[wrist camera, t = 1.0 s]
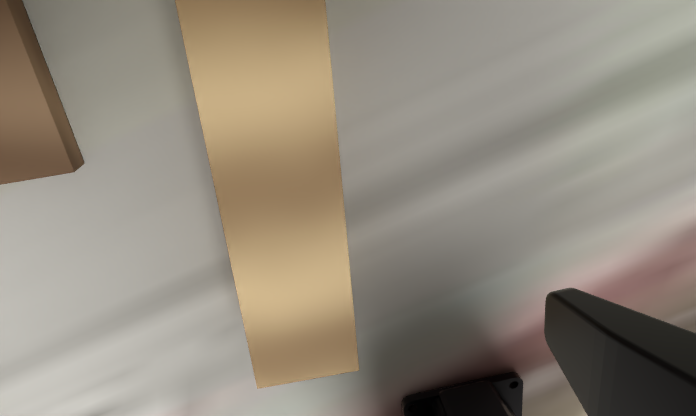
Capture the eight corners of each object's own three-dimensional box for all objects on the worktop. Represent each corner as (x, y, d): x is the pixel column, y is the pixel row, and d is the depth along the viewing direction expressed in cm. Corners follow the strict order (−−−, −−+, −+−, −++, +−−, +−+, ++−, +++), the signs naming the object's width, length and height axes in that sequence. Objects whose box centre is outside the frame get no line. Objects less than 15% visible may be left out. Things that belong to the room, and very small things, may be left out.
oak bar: (343, 310, 22) (359, 370, 18) (258, 324, 22) (257, 388, 18) (303, -84, 15) (314, -111, 12) (180, -75, 15) (153, -101, 11)
